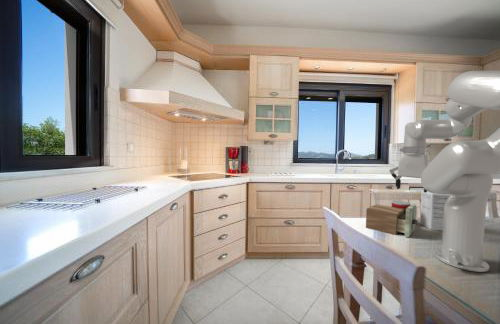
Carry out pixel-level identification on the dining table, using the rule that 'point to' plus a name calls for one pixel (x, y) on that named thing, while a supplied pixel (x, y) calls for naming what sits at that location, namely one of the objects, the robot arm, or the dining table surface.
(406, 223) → the drawer
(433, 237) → the dining table surface
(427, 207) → the supplement box
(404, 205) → the canned food
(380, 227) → the cabinet
